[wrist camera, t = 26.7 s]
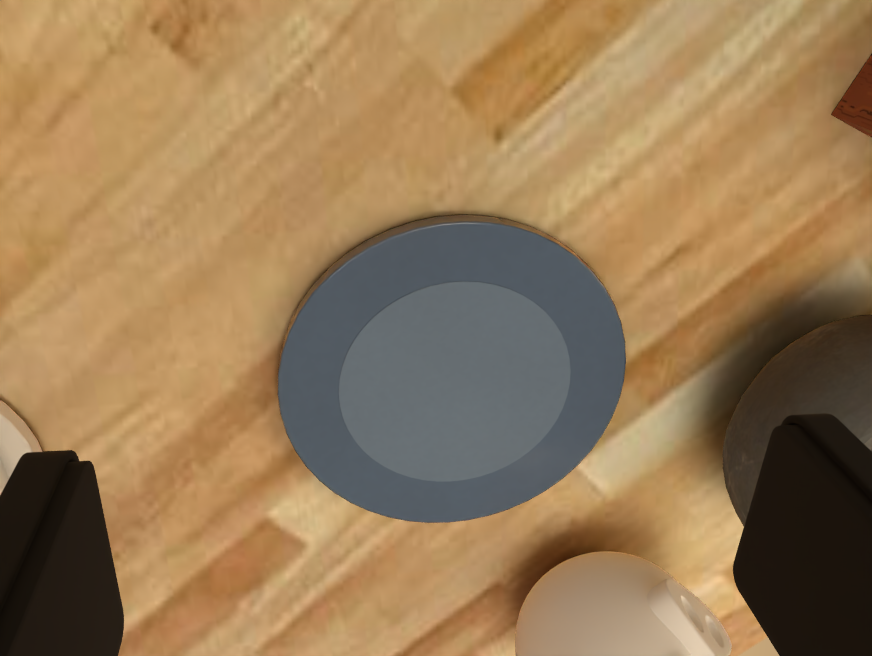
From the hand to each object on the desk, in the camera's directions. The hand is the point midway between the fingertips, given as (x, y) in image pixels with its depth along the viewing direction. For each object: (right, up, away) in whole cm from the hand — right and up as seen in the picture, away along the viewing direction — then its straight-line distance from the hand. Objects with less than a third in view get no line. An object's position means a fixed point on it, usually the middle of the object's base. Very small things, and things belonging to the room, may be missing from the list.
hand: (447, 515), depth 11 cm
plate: (+1, 0, +30) cm, 30 cm away
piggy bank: (+9, -13, +39) cm, 42 cm away
